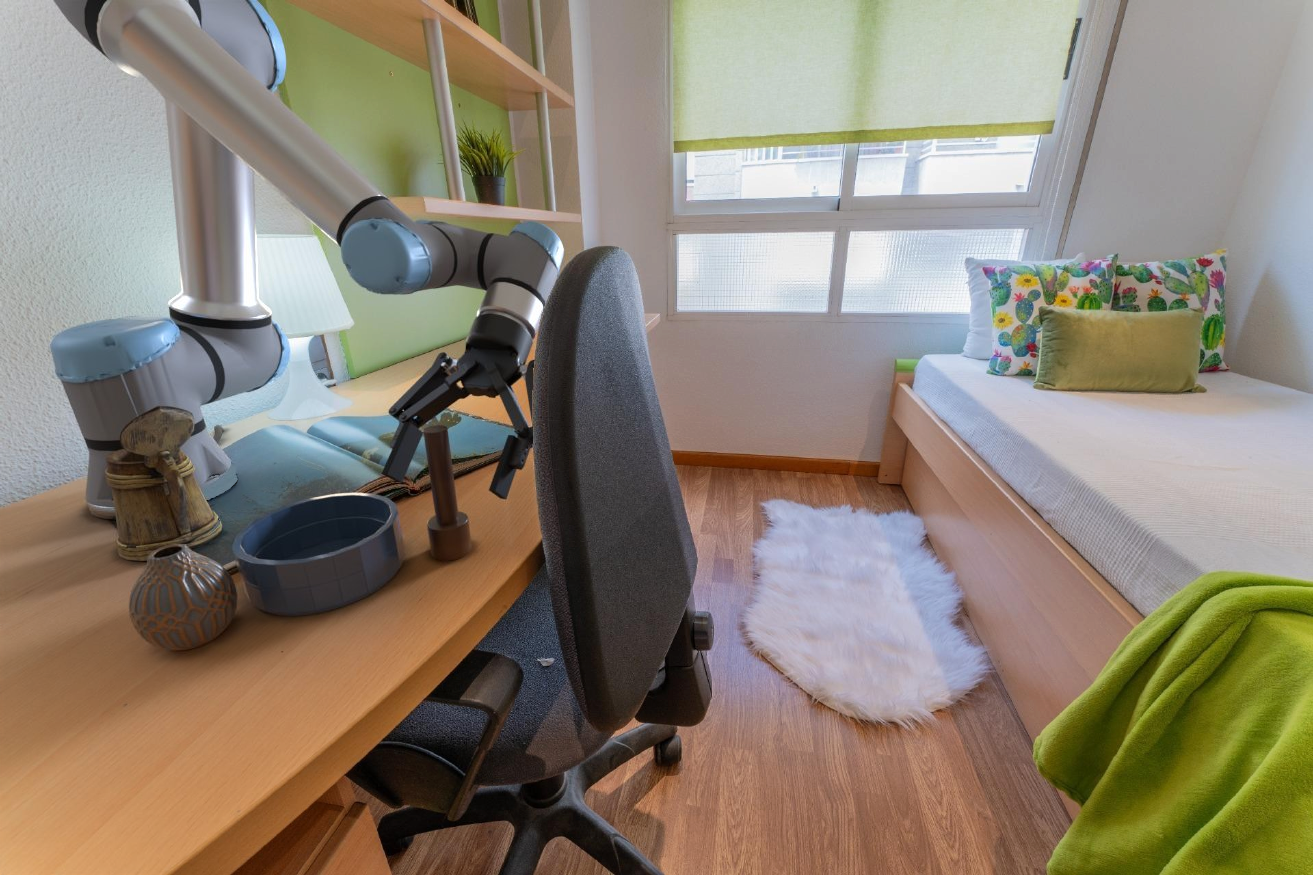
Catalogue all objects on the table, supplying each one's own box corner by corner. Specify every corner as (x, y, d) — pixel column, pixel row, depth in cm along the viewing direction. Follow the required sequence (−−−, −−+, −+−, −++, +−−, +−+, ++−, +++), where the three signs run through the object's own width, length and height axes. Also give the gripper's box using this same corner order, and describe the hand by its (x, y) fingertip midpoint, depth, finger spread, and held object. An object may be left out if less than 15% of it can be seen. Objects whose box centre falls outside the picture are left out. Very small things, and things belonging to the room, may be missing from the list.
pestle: (424, 550, 60) (405, 428, 55) (460, 536, 63) (445, 419, 58) (442, 565, 57) (424, 439, 52) (479, 550, 60) (465, 428, 55)
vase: (263, 610, 50) (239, 530, 47) (203, 664, 43) (170, 576, 40) (193, 607, 50) (164, 528, 47) (122, 662, 43) (83, 574, 40)
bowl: (233, 573, 55) (217, 524, 53) (375, 524, 65) (367, 481, 63) (270, 641, 46) (253, 584, 44) (428, 572, 56) (421, 523, 54)
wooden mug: (158, 584, 53) (95, 418, 47) (106, 547, 59) (44, 395, 53) (255, 544, 60) (213, 395, 54) (200, 514, 67) (156, 378, 60)
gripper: (605, 353, 66) (558, 513, 57) (437, 340, 72) (372, 483, 64) (587, 315, 59) (531, 490, 51) (404, 305, 65) (327, 459, 57)
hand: (443, 486), depth 57 cm, fingers open, 13 cm apart
